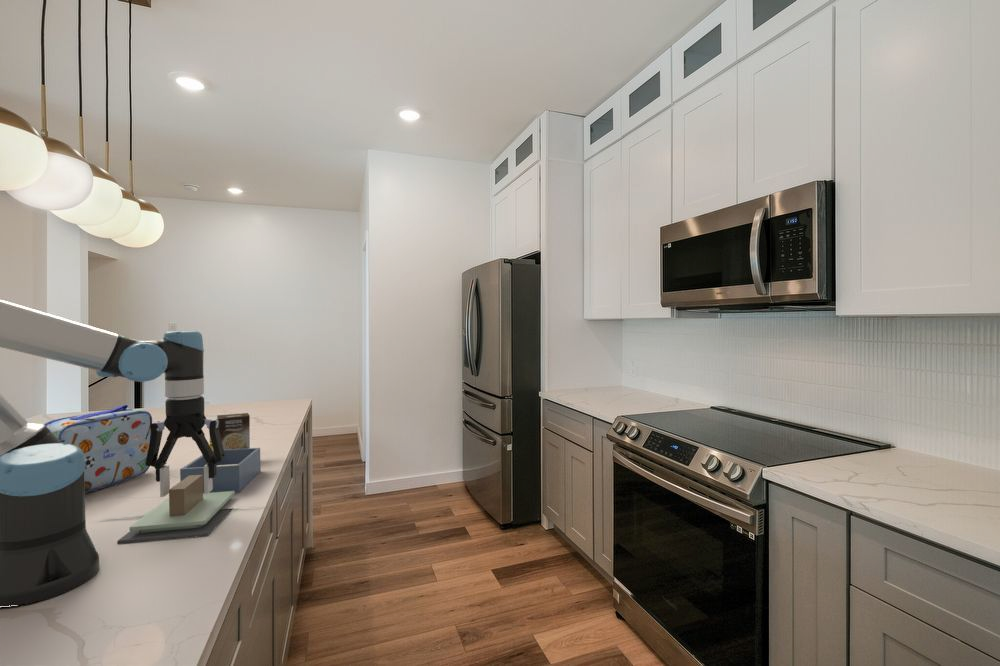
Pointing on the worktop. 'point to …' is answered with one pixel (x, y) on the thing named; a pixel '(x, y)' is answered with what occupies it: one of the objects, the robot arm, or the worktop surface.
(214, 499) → the lid
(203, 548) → the worktop surface
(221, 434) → the coffee box
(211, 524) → the mat
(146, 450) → the lunch box
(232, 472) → the storage box
